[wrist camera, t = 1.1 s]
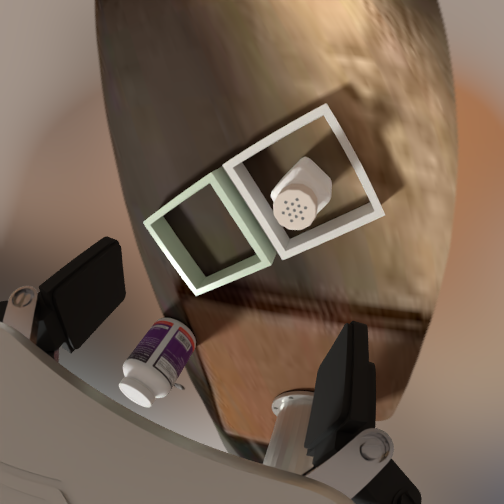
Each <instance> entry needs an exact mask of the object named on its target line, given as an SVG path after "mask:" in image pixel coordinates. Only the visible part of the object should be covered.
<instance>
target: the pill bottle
mask: <svg viewBox="0 0 504 504" xmlns="http://www.w3.org/2000/svg"><path fill="white" fill-rule="evenodd" d="M195 347H196V340H195V337H194V335H193V333H192V332H191V330H190V329H189V328H188V327H187V326H186V325H184V324H183V323H181V322H180V321H178V320H175V319H172V318H161V319H159V320H157V321H156V322H155V323H154V325H153V326H152V327H151V329H150V330H149V331H148V332H147V334H146V335H145V336H144V338H143V339H142V340H141V341H140V343H139V344H138V345H137V347H136V348H135V349H134V351H133V352H132V353H131V355H130V356H129V357H128V359H127V360H126V361H125V363H124V365H123V372H124V375H125V378H123V380H122V381H121V382H120V384H119V388H120V390H121V391H122V392H123V393H124V394H125V395H126V396H127V397H128V398H129V399H130V400H132V401H134V402H135V403H137V404H139V405H141V406H144V407H151V406H152V404H153V402H154V401H155V398H161V397H165V396H167V395H168V394H169V392H170V391H171V389H172V387H173V385H174V384H175V382H176V380H177V378H178V377H179V375H180V373H181V372H182V370H183V368H184V366H185V365H186V363H187V361H188V359H189V358H190V356H191V354H192V353H193V351H194V349H195Z"/></svg>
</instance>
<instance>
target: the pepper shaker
mask: <svg viewBox="0 0 504 504" xmlns="http://www.w3.org/2000/svg"><path fill="white" fill-rule="evenodd" d="M331 190H332V181H331V179H330V177H329V176H328V175H327V174H326V173H325V172H324V171H322V170H321V169H320V168H319V167H318V166H317V165H316V164H315V163H314V162H313V161H312V160H311V159H310V158H308V157H303V158H301V159H300V160H299V161H298V162H297V163H296V164H295V165H294V166H293V167H292V168H291V169H290V170H289V171H288V172H287V173H286V174H285V175H284V177H283V178H282V179H281V180H280V181H279V183H278V184H277V185H276V186H275V188H274V189H273V190H272V192H271V198H272V200H273V202H274V203H273V212H274V216H275V218H276V219H277V221H278V222H279V224H280V225H282V226H284V227H286V228H287V229H289V230H302V229H304V228H306V227H308V226H310V225H311V223H312V222H313V220H314V219H315V217H316V214H317V213H318V212H319V211H320V210H321V209H322V208H323V207H324V206H325V205H326V204H327V203H328V202H329V201H330V198H331Z"/></svg>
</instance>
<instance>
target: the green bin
mask: <svg viewBox="0 0 504 504" xmlns="http://www.w3.org/2000/svg"><path fill="white" fill-rule="evenodd" d="M209 183H210V184H211V185H212V187H213V188H214V190H215V191H216V193H217V194H218V196H219V197H220V199H221V201H222V202H223V204H224V205H225V207H226V208H227V210H228V211H229V213H230V214H231V216H232V217H233V219H234V220H235V222H236V223H237V225H238V226H239V228H240V230H241V231H242V233H243V234H244V236H245V237H246V239H247V240H248V242H249V243H250V245H251V246H252V248H253V249H254V251H255V253H256V255H254V256H252V257H249V258H247V259H245V260H243V261H241V262H238V263H236V264H234V265H232V266H230V267H227V268H225V269H223V270H221V271H219V272H216V273H214V274H212V275H210V276H208V277H206V276H205V275H204V274H203V272H202V271H201V270H200V268H199V267H198V265H197V264H196V263H195V261H194V260H193V258H192V257H191V256H190V254H189V253H188V251H187V250H186V248H185V247H184V246H183V244H182V243H181V241H180V240H179V238H178V237H177V236H176V234H175V233H174V231H173V230H172V228H171V227H170V225H169V224H168V222H167V221H166V219H165V218H164V217H163V215H165V214H166V213H168V212H169V211H170V210H172V209H173V208H175V207H176V206H177V205H179V204H180V203H182V202H183V201H184V200H186V199H187V198H189V197H190V196H192V195H193V194H195V193H196V192H197V191H199V190H200V189H202V188H203V187H205V186H206V185H208V184H209ZM143 223H144V225H145V226H146V228H147V229H148V231H149V232H150V234H151V235H152V237H153V238H154V239H155V241H156V242H157V244H158V245H159V247H160V248H161V249H162V251H163V252H164V254H165V255H166V256H167V258H168V259H169V261H170V262H171V263H172V265H173V266H174V268H175V269H176V270H177V272H178V273H179V274H180V276H181V277H182V278H183V280H184V281H185V282H186V284H187V285H188V286H189V288H190V289H191V290H192V292H193V293H194V294H195V296H198V295H200V294H203V293H205V292H208V291H210V290H213V289H215V288H217V287H220V286H222V285H225V284H227V283H230V282H232V281H234V280H237V279H239V278H242V277H244V276H246V275H249V274H251V273H254V272H256V271H258V270H261V269H263V268H266V267H268V266H270V265H272V263H273V260H274V258H275V256H276V253H277V251H276V250H275V248H274V246H273V245H272V243H271V242H270V240H269V238H268V237H267V235H266V234H265V232H264V230H263V229H262V227H261V226H260V224H259V222H258V221H257V219H256V218H255V216H254V215H253V213H252V211H251V210H250V208H249V207H248V205H247V204H246V202H245V201H244V199H243V197H242V196H241V194H240V193H239V191H238V190H237V188H236V187H235V185H234V183H233V182H232V180H231V179H230V177H229V176H228V174H227V173H226V171H225V170H224V168H223V166H222V167H220V168H218V169H216V170H214V171H213V172H211V173H209V174H208V175H206V176H205V177H204V178H202V179H201V180H199V181H198V182H196V183H195V184H194V185H192V186H191V187H189V188H188V189H186V190H185V191H184V192H182V193H181V194H180V195H178V196H177V197H175V198H174V199H173V200H171V201H170V202H169V203H167V204H166V205H165V206H163V207H162V208H161V209H159V210H158V211H157V212H155V213H154V214H153V215H152V216H150V217H149V218H148V219H146V220H145V221H144V222H143Z"/></svg>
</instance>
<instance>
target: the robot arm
mask: <svg viewBox="0 0 504 504" xmlns="http://www.w3.org/2000/svg"><path fill="white" fill-rule="evenodd" d="M39 289H40V292H39V293H37V290H36V289H35V288H34V287H31V286H23V287H20V288H18V289H17V290H15V291H14V292H13V293H12V294H11V296H10V298H9V301H2V302H0V504H421V494H420V492H419V490H418V489H417V488H416V486H415V485H414V484H413V483H412V482H411V481H410V480H409V478H408V477H407V476H406V475H405V474H404V473H403V471H402V470H401V469H400V468H399V467H398V466H397V464H396V463H395V462H394V461H393V460H392V459H391V457H392V455H393V451H394V446H393V442H392V439H391V438H390V437H389V435H388V434H387V433H386V432H384V431H382V430H380V429H377V428H375V419H376V369H375V364H374V363H372V362H369V351H368V328H367V325H366V324H362V323H359V322H356V321H352V322H351V323H350V324H348V323H346V324H345V325H344V327H343V329H342V330H341V332H340V334H339V336H338V337H337V339H336V341H335V342H334V344H333V346H332V347H331V349H330V351H329V352H328V354H327V355H326V357H325V359H324V360H323V362H322V363H321V365H320V367H319V369H318V373H317V379H316V385H315V391H314V392H309V391H291V392H286V393H283V394H281V395H279V396H277V397H276V398H275V399H274V401H273V404H272V410H273V412H274V414H275V415H276V416H277V419H276V423H275V426H274V430H273V433H272V436H271V440H270V443H269V446H268V450H267V453H266V456H265V459H264V462H263V464H260V463H256V462H253V461H250V460H247V459H244V458H241V457H237V456H235V455H232V454H229V453H226V452H223V451H220V450H217V449H214V448H212V447H209V446H206V445H204V444H201V443H199V442H196V441H194V440H191V439H189V438H186V437H184V436H182V435H180V434H177V433H175V432H173V431H171V430H169V429H167V428H165V427H162V426H160V425H158V424H156V423H154V422H152V421H150V420H148V419H146V418H144V417H142V416H141V415H139V414H137V413H135V412H133V411H131V410H130V409H128V408H126V407H124V406H122V405H121V404H119V403H117V402H115V401H114V400H112V399H111V398H109V397H107V396H106V395H104V394H102V393H101V392H99V391H98V390H96V389H95V388H93V387H92V386H90V385H89V384H87V383H86V382H84V381H83V380H81V379H80V378H78V377H77V376H75V375H74V374H72V373H71V372H70V371H68V370H67V369H66V368H64V367H63V366H62V365H60V364H59V363H58V360H59V359H58V358H59V347H60V346H61V345H62V347H63V348H64V349H65V350H67V351H69V353H72V352H73V351H74V350H75V349H78V348H80V347H81V345H82V344H83V343H84V342H85V341H86V340H87V339H88V338H89V337H90V335H91V334H92V333H93V332H94V331H95V330H96V329H97V328H98V327H99V326H100V325H101V324H102V322H103V321H104V320H105V319H106V318H107V317H108V316H109V315H110V314H111V313H112V312H113V311H114V310H115V309H116V307H118V305H119V304H120V303H121V302H122V301H123V300H124V298H125V295H126V291H125V284H124V274H123V264H122V252H121V246H120V245H119V242H118V241H117V240H115V239H112V238H110V237H104V238H102V239H101V240H99V241H98V242H97V243H95V244H94V245H92V246H91V247H90V248H88V249H87V250H86V251H84V252H83V253H81V254H80V255H79V256H77V257H76V258H75V259H73V260H72V261H71V262H69V263H68V264H67V265H65V266H64V267H63V268H61V269H60V270H59V271H58V272H56V273H55V274H54V275H53V276H51V277H50V278H49V279H48V280H46V281H45V282H44V283H43V284H41V285H40V286H39Z"/></svg>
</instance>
